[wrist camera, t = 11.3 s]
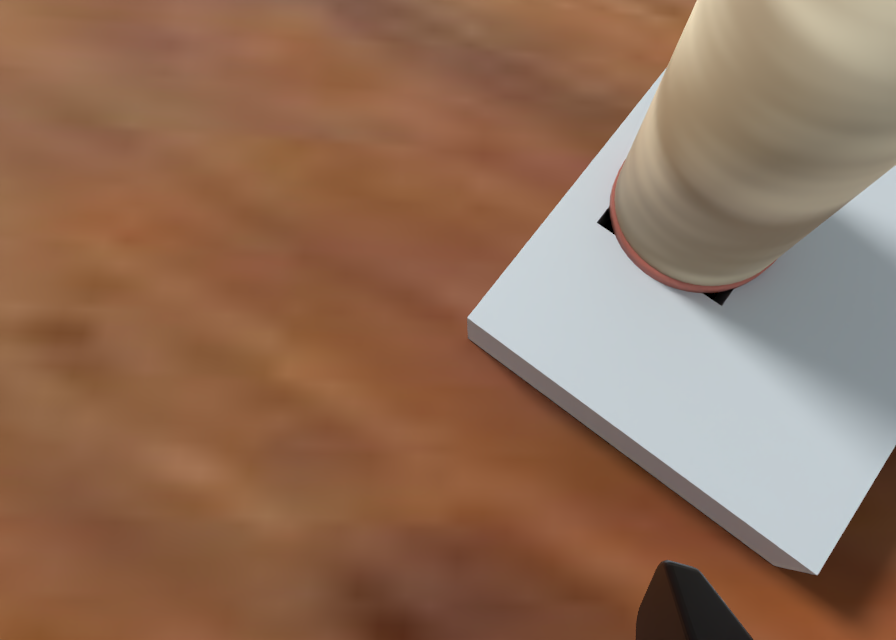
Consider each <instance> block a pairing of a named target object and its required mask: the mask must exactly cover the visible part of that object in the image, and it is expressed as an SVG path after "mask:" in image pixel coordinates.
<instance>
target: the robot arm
mask: <svg viewBox="0 0 896 640" xmlns="http://www.w3.org/2000/svg"><path fill="white" fill-rule="evenodd" d="M636 640H753V639H752V637H751V636H750V635H749V633H748V632H747V631H746V630H745V628H744V627H743V626H742V624H741V623H740V622H739V620H738V619H737V618H736V617H735V615H734V614H733V613H732V611H731V610H730V609H729V608H728V606H727V605H726V604H725V602H724V601H723V600H722V599H721V597H720V596H719V595H718V593H717V592H716V591H715V590H714V588H713V587H712V586H711V584H710V583H709V582H708V581H707V579H706V578H705V577H704V575H703V574H702V573H701V572H700V571H699V570H698V569H696V568H694V567H692V566H688V565H684V564H680V563H677V562H673V561H669V560H666V561H663V562H661V563H660V564H659V565H658V567H657V569H656V571H655V573H654V575H653V578H652V580H651V582H650V585H649V587H648V589H647V591H646V594H645V596H644V598H643V600H642V603H641V605H640V608H639V611H638V616H637V623H636Z"/></svg>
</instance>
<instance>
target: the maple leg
mask: <svg viewBox="0 0 896 640" xmlns="http://www.w3.org/2000/svg"><path fill="white" fill-rule="evenodd" d="M895 165H896V0H697V2H696V4H695V6H694V8H693V11H692V13H691V15H690V17H689V20H688V22H687V24H686V26H685V28H684V31H683V33H682V35H681V37H680V40H679V42H678V44H677V46H676V48H675V51H674V53H673V55H672V57H671V60H670V62H669V64H668V66H667V69H666V71H665V73H664V75H663V77H662V80H661V82H660V84H659V86H658V89H657V91H656V93H655V95H654V98H653V100H652V102H651V104H650V106H649V109H648V111H647V113H646V115H645V118H644V120H643V122H642V124H641V126H640V129H639V131H638V133H637V135H636V138H635V140H634V142H633V144H632V147H631V149H630V151H629V153H628V155H627V158H626V159H625V160H624V162H623V164H622V166H621V168H620V169H619V171H618V174H617V176H616V178H615V181H614V184H613V186H612V190H611V195H610V205H609V209H610V219H611V224H612V228H613V231H614V233H615V236H616V239H617V240H618V242H619V244H620V246H621V248H622V249H623V251H624V252H625V254H626V255H627V256H628V258H629V259H630V260H631V261H632V262H633V263H634V264H635V265H636V266H637V267H638V268H639V269H641V270H642V271H643V272H644V273H645V274H647V275H648V276H650V277H651V278H653V279H655V280H656V281H658V282H660V283H662V284H664V285H667V286H670V287H672V288H675V289H679V290H683V291H687V292H695V293H716V292H723V291H727V290H731V289H735V288H737V287H740V286H742V285H744V284H746V283H748V282H750V281H751V280H753V279H755V278H756V277H758V276H759V275H760V274H761V273H763V272H764V271H765V270H766V269H768V268H769V267H770V266H771V265H772V264H773V263H774V262H775V261H776V260H777V259H778V258H779V257H780V256H781V255H783V254H784V253H785V252H786V251H788V250H789V249H790V248H791V247H793V246H794V245H795V244H796V243H798V242H799V241H800V240H802V239H803V238H804V237H805V236H807V235H808V234H809V233H810V232H812V231H813V230H814V229H815V228H817V227H818V226H819V225H821V224H822V223H823V222H824V221H826V220H827V219H828V218H829V217H831V216H832V215H833V214H834V213H836V212H837V211H838V210H840V209H841V208H842V207H843V206H845V205H846V204H847V203H848V202H850V201H851V200H852V199H853V198H855V197H856V196H857V195H859V194H860V193H861V192H862V191H864V190H865V189H866V188H867V187H869V186H870V185H871V184H872V183H874V182H875V181H876V180H878V179H879V178H880V177H881V176H883V175H884V174H885V173H886V172H888V171H889V170H890V169H891V168H893V167H894V166H895Z"/></svg>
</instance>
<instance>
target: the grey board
mask: <svg viewBox="0 0 896 640" xmlns="http://www.w3.org/2000/svg"><path fill="white" fill-rule="evenodd" d="M666 69H667V68H666ZM666 69H665V70H664V72H663V73H662V74H661V75H660V77H659V78H658V79H657V80H656V82H655V83H654V84H653V85H652V87H651V88H650V89H649V90H648V92H647V93H646V94H645V95H644V97H643V98H642V99H641V100H640V102H639V103H638V104H637V105H636V107H635V108H634V109H633V110H632V112H631V113H630V114H629V116H628V117H627V118H626V119H625V121H624V122H623V123H622V124H621V126H620V127H619V128H618V129H617V131H616V132H615V133H614V134H613V136H612V137H611V138H610V139H609V141H608V142H607V143H606V144H605V146H604V147H603V148H602V149H601V151H600V152H599V153H598V154H597V156H596V157H595V158H594V159H593V161H592V162H591V163H590V164H589V166H588V167H587V168H586V169H585V171H584V172H583V173H582V174H581V176H580V177H579V178H578V180H577V181H576V182H575V183H574V185H573V186H572V187H571V188H570V190H569V191H568V192H567V193H566V195H565V196H564V197H563V198H562V200H561V201H560V202H559V203H558V205H557V206H556V207H555V208H554V210H553V211H552V212H551V213H550V215H549V216H548V217H547V218H546V220H545V221H544V222H543V223H542V225H541V226H540V227H539V228H538V230H537V231H536V232H535V233H534V235H533V236H532V237H531V239H530V240H529V241H528V242H527V244H526V245H525V246H524V247H523V249H522V250H521V251H520V252H519V254H518V255H517V256H516V257H515V259H514V260H513V261H512V262H511V264H510V265H509V266H508V267H507V269H506V270H505V271H504V272H503V274H502V275H501V276H500V277H499V279H498V280H497V281H496V282H495V284H494V285H493V286H492V287H491V289H490V290H489V291H488V292H487V294H486V295H485V296H484V297H483V299H482V300H481V301H480V303H479V304H478V305H477V306H476V308H475V309H474V310H473V311H472V313H471V314H470V315H469V316H468V318H467V324H468V339H470V340H471V341H472V342H474V343H475V344H476V345H478V346H479V347H480V348H482V349H483V350H484V351H486V352H487V353H489V354H490V355H491V356H493V357H494V358H495V359H497V360H498V361H499V362H501V363H502V364H503V365H505V366H506V367H507V368H509V369H510V370H511V371H513V372H514V373H515V374H517V375H518V376H519V377H521V378H522V379H523V380H525V381H526V382H528V383H529V384H530V385H532V386H533V387H534V388H536V389H537V390H538V391H540V392H541V393H542V394H544V395H545V396H546V397H548V398H549V399H550V400H552V401H553V402H554V403H556V404H557V405H558V406H560V407H561V408H562V409H564V410H565V411H567V412H568V413H569V414H571V415H572V416H573V417H575V418H576V419H577V420H579V421H580V422H581V423H583V424H584V425H585V426H587V427H588V428H589V429H591V430H592V431H593V432H595V433H596V434H597V435H599V436H600V437H601V438H603V439H604V440H606V441H607V442H608V443H610V444H611V445H612V446H614V447H615V448H616V449H618V450H619V451H620V452H622V453H623V454H624V455H626V456H627V457H628V458H630V459H631V460H632V461H634V462H635V463H636V464H638V465H639V466H640V467H642V468H643V469H645V470H646V471H647V472H649V473H650V474H651V475H653V476H654V477H655V478H657V479H658V480H659V481H661V482H662V483H663V484H665V485H666V486H667V487H669V488H670V489H671V490H673V491H674V492H675V493H677V494H678V495H679V496H681V497H682V498H684V499H685V500H686V501H688V502H689V503H690V504H692V505H693V506H694V507H696V508H697V509H698V510H700V511H701V512H702V513H704V514H705V515H706V516H708V517H709V518H710V519H712V520H713V521H714V522H716V523H717V524H718V525H720V526H721V527H723V528H724V529H725V530H727V531H728V532H729V533H731V534H732V535H733V536H735V537H736V538H737V539H739V540H740V541H741V542H743V543H744V544H745V545H747V546H748V547H749V548H751V549H752V550H753V551H755V552H756V553H757V554H759V555H760V556H762V557H763V558H764V559H766V560H767V561H768V562H770V563H771V564H772V565H774V566H777V567H782V568H786V569H791V570H795V571H800V572H804V573H809V574H813V575H818V574H819V572H820V570H821V569H822V567H823V565H824V564H825V562H826V560H827V559H828V557H829V555H830V554H831V552H832V550H833V549H834V547H835V545H836V544H837V542H838V540H839V539H840V537H841V535H842V534H843V532H844V530H845V529H846V527H847V525H848V524H849V522H850V520H851V519H852V517H853V515H854V514H855V512H856V510H857V509H858V507H859V505H860V504H861V502H862V500H863V499H864V497H865V495H866V494H867V492H868V490H869V489H870V487H871V485H872V484H873V482H874V480H875V479H876V477H877V475H878V474H879V472H880V470H881V469H882V467H883V465H884V464H885V462H886V460H887V459H888V457H889V455H890V454H891V452H892V450H893V449H894V447H895V445H896V165H895V166H894V167H893V168H891V169H890V170H889V171H888V172H886V173H885V174H884V175H883V176H881V177H880V178H879V179H878V180H876V181H875V182H874V183H872V184H871V185H870V186H869V187H867V188H866V189H865V190H864V191H862V192H861V193H860V194H859V195H857V196H856V197H855V198H853V199H852V200H851V201H850V202H848V203H847V204H846V205H845V206H843V207H842V208H841V209H840V210H838V211H837V212H836V213H834V214H833V215H832V216H831V217H829V218H828V219H827V220H826V221H824V222H823V223H822V224H821V225H819V226H818V227H817V228H815V229H814V230H813V231H812V232H810V233H809V234H808V235H807V236H805V237H804V238H803V239H802V240H800V241H799V242H798V243H796V244H795V245H794V246H793V247H791V248H790V249H789V250H788V251H786V252H785V253H784V254H783V255H781V256H780V257H779V258H778V259H777V260H776V261H775V262H774V263H773V264H772V265H771V266H770V267H769V268H768V269H766V270H765V271H764V272H763V273H761V274H760V275H759V276H758V277H756V278H755V279H753V280H751V281H750V282H748V283H746V284H744V285H742V286H740V287H737V288H735V289H731V290H727V291H723V292H719V293H718V294H717V296H716V297H715V298H714V300H712V299H710V298H709V297H707V296H706V295H704V294H703V293H695V292H687V291H683V290H679V289H675V288H672V287H670V286H667V285H664V284H662V283H660V282H658V281H656V280H655V279H653V278H651V277H650V276H648V275H647V274H645V273H644V272H643V271H642V270H641V269H639V268H638V267H637V266H636V265H635V264H634V263H633V262H632V261H631V260H630V259H629V258H628V256H627V255H626V254H625V252H624V251H623V249H622V248H621V246H620V244H619V242H618V240H617V239H616V236H615V235H614V234H613V233H611V232H610V231H608V230H607V229H605V228H604V227H603V226H604V225H605V224H606V223H607V221H608V220H609V219H610V209H609V205H610V195H611V190H612V186H613V184H614V181H615V178H616V176H617V174H618V171H619V169H620V168H621V166H622V164H623V162H624V160H625V159H626V158H627V155H628V153H629V151H630V149H631V147H632V144H633V142H634V140H635V138H636V135H637V133H638V131H639V129H640V126H641V124H642V122H643V120H644V118H645V115H646V113H647V111H648V109H649V106H650V104H651V102H652V100H653V98H654V95H655V93H656V91H657V89H658V86H659V84H660V82H661V80H662V77H663V75H664V73H665V71H666Z"/></svg>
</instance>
